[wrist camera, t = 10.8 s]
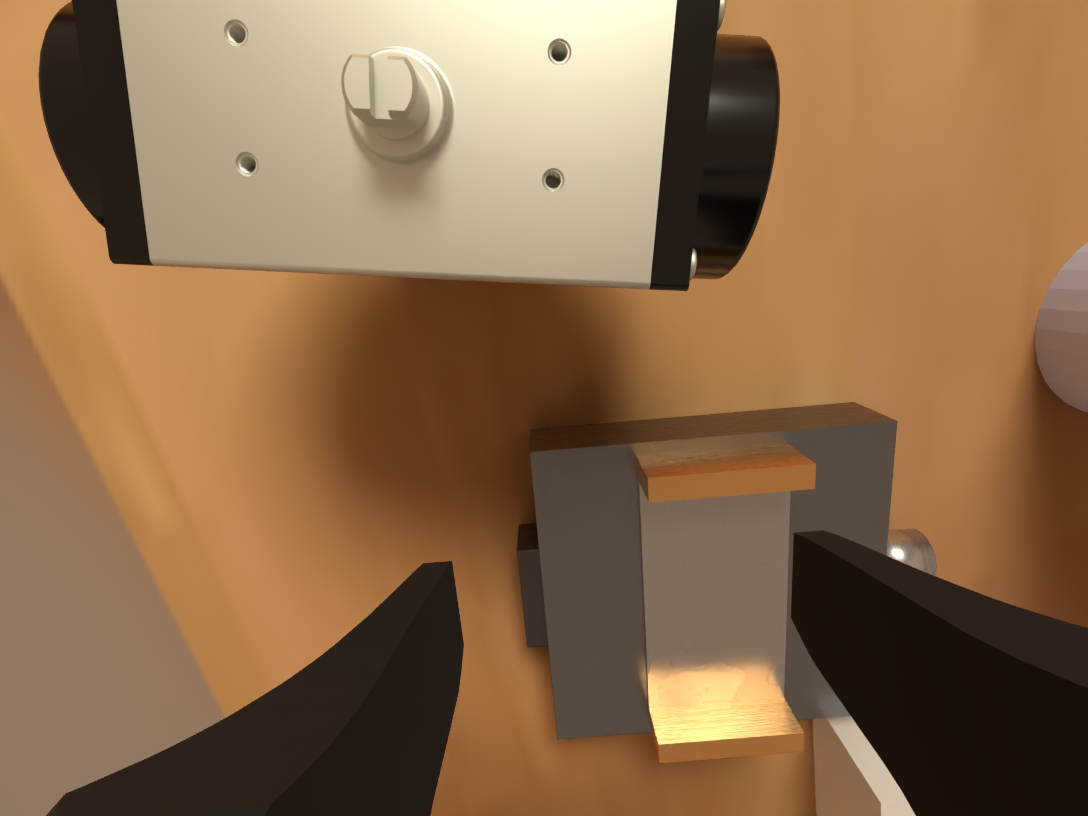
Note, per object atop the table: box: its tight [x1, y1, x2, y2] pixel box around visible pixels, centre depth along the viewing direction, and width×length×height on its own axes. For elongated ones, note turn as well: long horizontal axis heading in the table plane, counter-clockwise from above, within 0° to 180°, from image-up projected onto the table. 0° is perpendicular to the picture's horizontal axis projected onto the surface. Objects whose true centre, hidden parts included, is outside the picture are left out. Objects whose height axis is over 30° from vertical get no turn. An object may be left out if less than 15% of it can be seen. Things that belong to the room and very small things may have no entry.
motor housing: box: [517, 402, 937, 763], centre depth 20 cm, size 15×12×4 cm
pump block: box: [813, 716, 916, 816], centre depth 22 cm, size 4×7×5 cm, turn 9°
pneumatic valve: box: [39, 0, 780, 291], centre depth 12 cm, size 6×12×12 cm, turn 87°
